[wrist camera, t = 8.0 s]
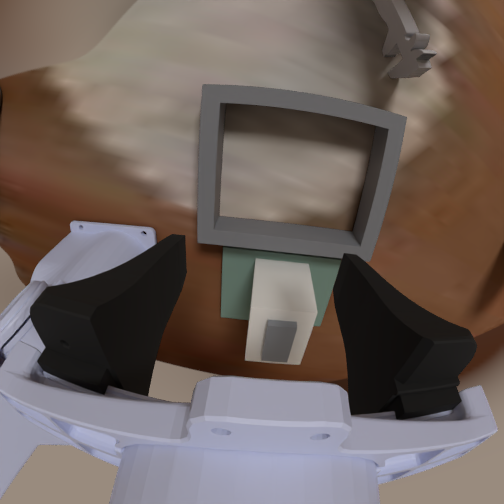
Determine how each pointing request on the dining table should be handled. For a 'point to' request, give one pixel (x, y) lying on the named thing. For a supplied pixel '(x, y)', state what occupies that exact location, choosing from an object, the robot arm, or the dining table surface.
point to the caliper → (404, 40)
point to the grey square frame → (286, 234)
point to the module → (280, 312)
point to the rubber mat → (242, 273)
